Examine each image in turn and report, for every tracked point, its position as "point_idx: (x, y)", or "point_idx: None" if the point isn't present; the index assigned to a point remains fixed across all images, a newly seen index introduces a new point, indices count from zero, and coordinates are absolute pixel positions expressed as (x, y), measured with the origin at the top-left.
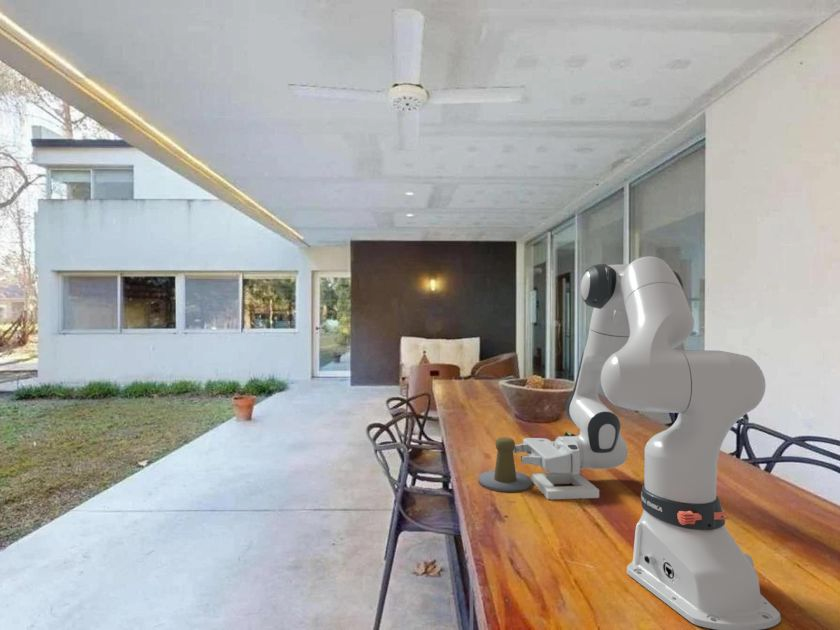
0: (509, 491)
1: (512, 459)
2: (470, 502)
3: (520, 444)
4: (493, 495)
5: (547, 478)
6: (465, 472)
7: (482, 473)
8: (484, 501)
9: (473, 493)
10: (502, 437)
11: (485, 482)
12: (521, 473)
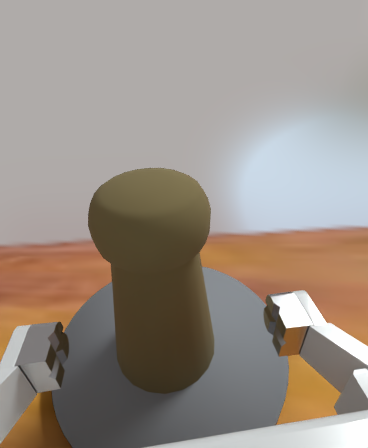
0: None
1: (123, 303)
2: (27, 253)
3: (357, 348)
4: (52, 303)
5: None
6: (256, 246)
7: (222, 274)
8: (18, 280)
9: (84, 260)
10: (173, 175)
11: None
12: None
